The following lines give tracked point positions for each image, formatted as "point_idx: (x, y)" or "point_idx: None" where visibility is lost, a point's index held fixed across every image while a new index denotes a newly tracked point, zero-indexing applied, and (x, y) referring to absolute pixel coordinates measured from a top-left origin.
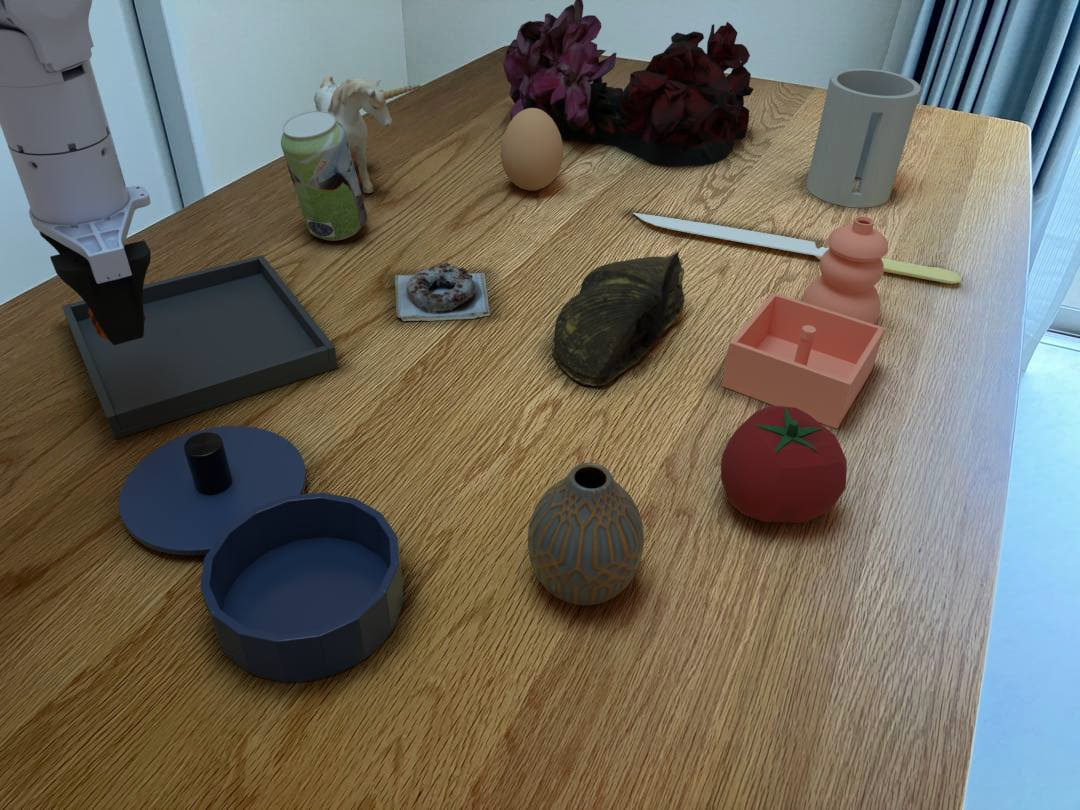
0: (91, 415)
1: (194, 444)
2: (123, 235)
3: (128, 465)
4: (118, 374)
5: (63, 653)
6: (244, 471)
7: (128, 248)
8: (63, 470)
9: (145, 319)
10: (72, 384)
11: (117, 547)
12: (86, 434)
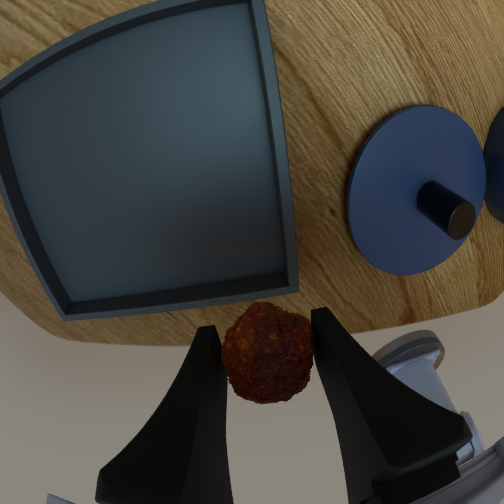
0: None
1: (459, 230)
2: (501, 492)
3: (339, 261)
4: (178, 270)
5: (463, 293)
6: (432, 167)
7: (413, 471)
8: None
9: (264, 302)
10: None
11: None
12: None
